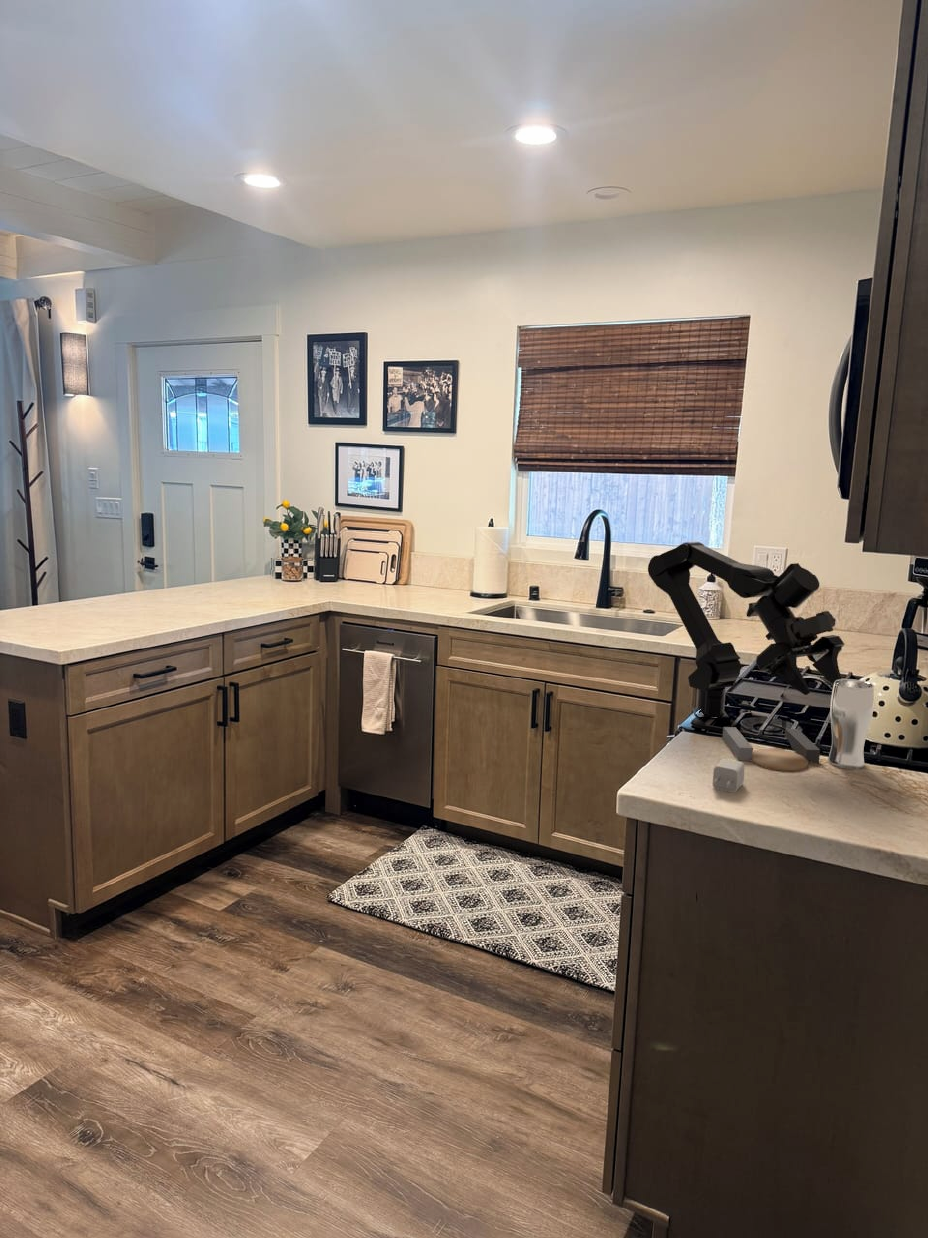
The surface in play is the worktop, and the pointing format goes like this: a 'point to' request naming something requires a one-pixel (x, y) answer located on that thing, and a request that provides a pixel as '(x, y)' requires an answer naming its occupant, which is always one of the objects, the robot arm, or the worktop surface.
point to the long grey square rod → (802, 745)
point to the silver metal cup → (850, 721)
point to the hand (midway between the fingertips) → (824, 690)
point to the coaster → (779, 760)
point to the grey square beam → (737, 743)
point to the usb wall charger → (728, 775)
